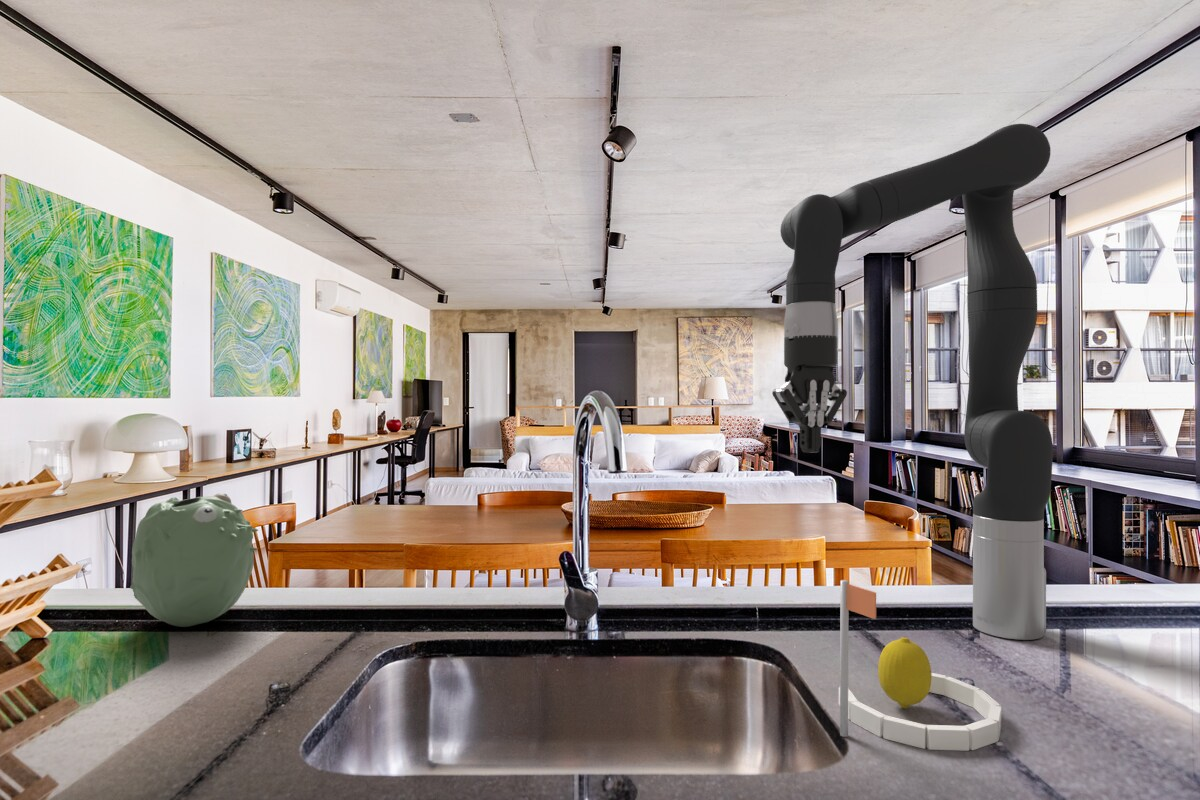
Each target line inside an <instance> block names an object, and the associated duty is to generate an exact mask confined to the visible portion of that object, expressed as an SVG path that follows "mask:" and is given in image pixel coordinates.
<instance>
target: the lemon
mask: <svg viewBox="0 0 1200 800" xmlns="http://www.w3.org/2000/svg"><path fill="white" fill-rule="evenodd" d="M877 670H878V671H877V673H878V674H877V675H878V682H879V683H880V686H881V687H880V688H882V690H883V692H884V693H885V695H886V696H887V698H890V699H891V700H892V701H894V702H896V703H897V704H898V705H899V706H900V707H901V708H902V709H909V708H910V707H911V706H912V705H916V704H919V703H921V702H922V701H923V700H925V698H926V697H927V696H928V695H929V693H930V692H929V690H930V687H931V679H932V674H931V673H932V668H931V663H930V660H929V657H928V656H927V653H926V652H925V650H923V648H922V647H921V646H920V645H919V644H917V643H916V642H913V641H911V640H910V639H909V638H908V637H905V636H901V637H900V638H899V639H895V640H892V641H890V642H888V643H887V644H886V645H885V646H884V648H883V649H882V651H881V653H880V656H879V659H878V667H877Z"/></svg>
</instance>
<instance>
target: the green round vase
mask: <svg viewBox="0 0 1200 800" xmlns="http://www.w3.org/2000/svg"><path fill="white" fill-rule="evenodd" d="M258 531H259V530H258V529H257V528H254V527H253V525H251V523H250V521H249V520H247V519H246V518H245V516H244V514H243V509H239V508H238V507H237V506H236V505H234V504H232V499H231V498H230V496H228V494H226V493H216V494H214V495H213V496H197V497H193V498H187V499H181V500H180V499H179V498H177V497H175V496H172V497H170V498H169V499H166V500H165V501H162V502H158V503H157V502H156V503H155V504H153V505H151V506H150V507H149V508H148V510H147V511H146V513H145V516H143V518H142V519H140V521H139V523H138V526H137V529H136V532H135V538H134V539H133V540H134V541H133V543H132V549H131V556H132V557H131V566H132V569H133V571H132V572H133V573H132V580H131V581H132V583H131V585H130V587H129V588H130V589H131V590H132V592H133V597H134V599H136V601H137V602H138V603H140V604H141V606H143V607H144V609H145V610H146V611H147V612H148V613H149V614H150V615H151V616H152V617H154V618H155V619H157V620H159V621H161V622H165V623H166V624H168V625H171V626H175V627H178V628H179V627H180V628H187V627H193V626H197V625H200V624H205V623H209V622H210V621H213V620H215V619H217V618H219V617H220V616H222V615H223V614H225V613H226V612H228V611H229V610H230V609H231V608H232V607H233V606H235V604H236V603H237V602H238V601H239V599H240V598H241V597H242V594H243V593H244V592H245V589H246V588H247V585H248V583H249V580H250V577H251V574H252V571H253V568H254V565H255V564H254V561H255V560H254V559H255V557H254V552H255V551H258V549H259V548H258V547H255V546H253V539H254V533H256V532H258Z"/></svg>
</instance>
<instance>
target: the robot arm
mask: <svg viewBox="0 0 1200 800" xmlns="http://www.w3.org/2000/svg"><path fill="white" fill-rule="evenodd" d="M1050 159H1051V145H1050V142H1049V139H1048V137H1047V136H1046V134H1045V133H1044V132H1043V131H1042V130H1041V129H1040V128H1038V127H1036V126H1034V125H1032V124H1028V123H1013V124H1009V125H1007V126H1004V127H1001V128H999V129H996V130H995V131H993V132H992V133H990V134H988V135H986V136H985V137H984V138H982V139H980V140H978V141H977V142H975V143H973V144H970V145H969V146H967V147H965V148H962V149H960V150H957V151H954V152H953V153H950V154H947V155H944V156H941V157H939V158H936V159H933V160H929V161H927V162H924V163H920V164H917V165H914V166H911V167H907V168H904V169H901V170H898V171H897V170H896V171H894V172H891V173H887V174H885V175H882V176H878V177H875V178H872V179H869V180H866V181H863V182H860V183H857V184H855V185H852V186H850V187H849V188H847V189H845V190H844V191H842V192H840V193H838V194H836V195H833V196H829V195H826V194H821V193H819V194H818V193H816V194H812V195H810V196H809V195H808V196H807V197H805V198H804V199H803V200H801V201H800V202H798V203H797V205H795V206H794V207H792V208H791V209H790V210H789V211H788V212H787V213H786V214H785V216H784V217H783V218H782V219H783V220H782V221H781V224H780V237H781V240H782V241H783V243H784V245H786V246H787V247H788V248H790V249H791V250H793V253H794V254H793V260H792V261H793V262H792V264H791V266H790V267H789V269H788V271H787V274H786V283H785V288H786V289H785V299H786V300H785V313H784V320H783V321H784V323H783V325H784V326H783V329H784V330H783V335H784V337H783V342H784V343H783V349H784V350H783V355H784V356H783V364H784V367H786V368H787V369H786V370H787V371H786V374H785V377H784V383H783V384H782V385H781V386H780V387H779V388H774V389H773V390H772V396H773V398H774V399H775V402H777V403H776V404H778V406H779V408H780V409H781V411H782V413H783V414H784V416H785V418H786V420H787V421H788V422H789V423H790V424H791V423H793V424H795V425H797V426H798V427H799V448H800V449H801V450H800V451H802V453H808V454H812V453H815V454H817V453H819V452H820V448H821V445H822V427H823V425H825V424H828V423H831V422H832V421H833V420H834V417H835V416H836V414H837V412H838V411H839V409H840V408H841V406H842V404H843V402H844V401H845V399H846V397H847V395H848V391H847V390H846V389H845V388H842V389H841V388H840V387H839V386H837V385H838V384H836V377H835V374H834V371H833V370H834V367H836V366H837V364H838V314H837V308H836V270H837V266H838V261H839V259H840V252H841V248H842V247H841V246H842V241H843V239H845V238H847V237H850V236H853V235H855V234H858V233H863V232H866V231H870V230H874V229H877V228H881V227H884V226H886V225H890V224H892V223H896V222H898V221H901V220H904V219H906V218H909V217H912V216H914V215H917V214H919V213H921V212H923V211H925V210H928V209H930V208H932V207H934V206H937V205H941V204H942V203H944V202H947V201H949V200H952V199H955V198H958V197H960V196H961V197H962V205H963V206H962V208H963V212H964V220H965V231H966V232H965V233H966V262H967V263H966V264H967V266H966V267H967V288H966V289H967V293H966V294H967V296H966V300H967V302H966V303H967V325H968V330H967V331H968V374H969V375H968V376H969V379H968V390H967V391H968V393H967V400H966V409H965V411H966V412H965V421H964V432H963V433H964V445H965V448H966V451H967V453H968V455H969V456H970V458H971V459H972V461H975V463H977V464H978V465H979V466H982V467H984V468H986V470H987V471H986V482H985V486H984V488H983V490H982V491H981V492H980V493H977V494H976V495H975V496H974V497H973V500H972V501H973V503H972V533H973V534H972V626H973V627H974V629H976V630H977V631H979V632H982V633H984V634H986V635H990V636H993V637H999V638H1003V639H1009V640H1023V641H1029V640H1030V641H1032V640H1038V639H1041V638H1043V637H1044V633H1045V632H1046V631H1047V570H1046V568H1045V566H1044V565H1045V564H1044V563H1045V562H1044V561H1045V559H1044V557H1045V552H1044V551H1045V550H1044V549H1045V547H1044V546H1045V543H1044V540H1045V539H1044V538H1045V536H1044V535H1045V534H1044V532H1045V531H1044V530H1045V529H1044V528H1045V527H1044V524H1045V523H1044V522H1045V520H1044V519H1045V508H1046V506H1047V505H1048V502H1049V500H1050V497H1051V491H1052V475H1053V474H1052V473H1053V472H1052V471H1053V459H1054V456H1053V455H1054V454H1053V453H1054V448H1053V446H1054V445H1053V437H1052V434H1051V431H1050V428H1049V426H1048V425H1047V423H1046V422H1045V420H1043V418H1042V417H1040V416H1039V415H1037V414H1035V413H1033V412H1030V411H1026V410H1019V400H1018V399H1019V394H1018V392H1019V391H1018V383H1019V376H1020V375H1019V374H1020V373H1021V372H1020V371H1021V368H1022V367H1021V366H1022V364H1023V362H1024V359H1025V356H1026V354H1027V353H1028V349H1029V347H1030V344H1031V343H1032V339H1033V336H1034V334H1035V333H1034V332H1035V330H1036V327H1037V321H1038V320H1037V319H1038V283H1037V281H1038V280H1037V277H1036V274H1035V270H1034V268H1033V265H1032V263H1031V261H1030V259H1029V258H1028V255H1027V254H1026V252H1025V250H1024V249H1023V247H1022V245H1021V243H1020V242H1019V240H1018V238H1017V235H1016V232H1015V231H1016V230H1015V227H1014V226H1015V225H1014V217H1013V216H1014V214H1013V213H1014V212H1013V211H1014V209H1013V208H1014V206H1013V203H1014V192H1015V191H1016V190H1018V189H1021V188H1023V187H1025V186H1027V185H1028V184H1031V182H1033V181H1034V180H1036V179H1037V178H1039V176H1040V175H1041V174H1043V172H1044V171H1045V169H1046V167H1047V166H1048V164H1049V161H1050Z"/></svg>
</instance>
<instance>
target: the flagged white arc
mask: <svg viewBox="0 0 1200 800" xmlns="http://www.w3.org/2000/svg"><path fill="white" fill-rule="evenodd" d="M839 581H840V584H839V585H840V590H839V591H840V593H839V594H840V601H839V602H840V607H839V609H840V610H839V611H840V614H839V615H840V616H839V617H840V618H839V619H840V620H839V623H840V625H839V626H840V629H839V632H840V633H839V634H840V635H839V637H840V638H839V639H840V640H839V641H840V643H839V646H840V647H839V651H840V653H839V655H840V656H839V668H840V669H839V675H840V676H839V678H840V679H839V686H838V706H839V736H840V737H843V738H848V736H849V721H850V722H851V723H853V724H855V725H856V726H859V727H860V728H862V729H864V730H866V731H867V732H870V733H872V734H873V735H875V736H877V737H879V738H881V737H883V738H882V739H885V740H887V741H888V740H889V741H893V742H895V743H896V742H897V743H900V744H904V745H908V746H913V747H915V748H916V747H917V748H920V749H924V750H925V749H926V748H927V749H928V750H930V751H931V750H933V751H963V752H965V751H968V752H969V751H970V750H971V751H974V750H978V749H980V748H983V747H986V746H990V745H991V744H995V743H997V742H998V741H999V740H1000V734H1001V729H1002V706H1001V704H999V703H998V702H997V701H996V700H995V699H994V698H992V697H991V696H990V695H989V694H988V693H987V692H985V691H984V689H983V690H982V689H981V688H979V687H977V686H974V685H971V684H970V683H967V682H964V681H961V680H959V679H956V678H954V677H952V676H947V675H944V674H939V673H936V672H931V674H932V679H931V687H930V690H929V693H933V694H937V695H942V696H945V697H946V698H947V697H948V698H950V699H953V700H955V701H957V702H959V703H961V704H964V705H966V706H969V707H971V708H973V709H974V710H975V711H977V712H978V713H979V715H981V716H982V717H983V719H980V720H978V721H975V722H972V723H969V724H966V725H965V724H964V725H952V724H951V725H950V724H949V725H946V724H944V725H942V724H941V725H940V724H925V723H920V722H915V721H911V720H907V719H902V718H898V717H895V716H894V717H893V716H891V715H887V714H884V713H882V712H880V711H878V710H876V709H874V708H872V707H871V706H868V705H866V704H864V703H862V702H861V701H859V700H858V699H857V698H856V696H855V695H854V694H853V692H852V691H851V690H850V688H849V622H850V621H849V615H850V613H849V611H850V612H853V613H856V614H859V615H863V616H865V617H868V618H871V619H873V620H876V619H877V592H876V591H872V590H870V589H867V588H862V587H860V586H857V585H853V584H851V583H849V580H846V579H841V580H839Z"/></svg>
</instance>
